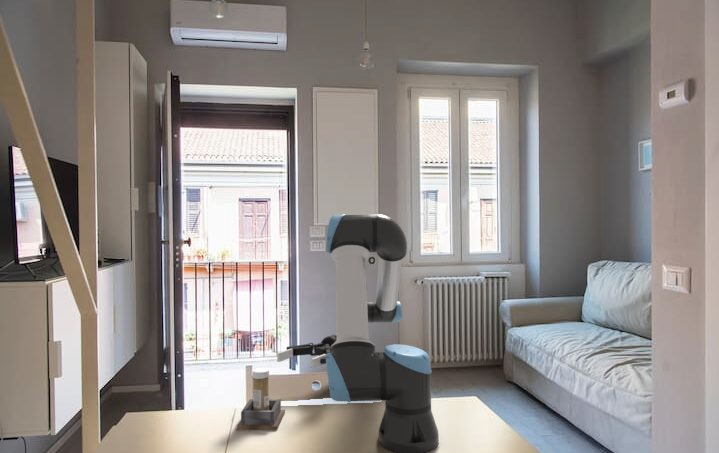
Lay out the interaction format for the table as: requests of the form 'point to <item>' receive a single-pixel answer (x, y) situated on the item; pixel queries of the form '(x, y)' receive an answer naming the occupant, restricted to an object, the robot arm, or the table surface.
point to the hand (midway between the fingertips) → (294, 360)
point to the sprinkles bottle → (260, 389)
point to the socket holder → (261, 416)
